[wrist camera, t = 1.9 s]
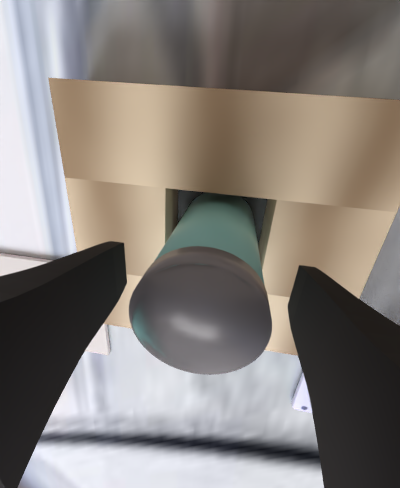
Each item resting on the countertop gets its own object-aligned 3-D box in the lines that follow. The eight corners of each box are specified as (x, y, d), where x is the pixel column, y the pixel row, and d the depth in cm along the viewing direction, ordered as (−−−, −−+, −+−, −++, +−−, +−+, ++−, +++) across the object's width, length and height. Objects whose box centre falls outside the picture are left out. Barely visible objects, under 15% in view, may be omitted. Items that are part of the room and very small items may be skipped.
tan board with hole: (398, 108, 12) (444, 102, 9) (317, 326, 18) (331, 361, 15) (86, 87, 13) (48, 77, 11) (109, 294, 20) (88, 321, 17)
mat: (100, 266, 19) (97, 269, 18) (110, 351, 22) (108, 355, 22) (-9, 251, 19) (-14, 254, 19) (19, 335, 23) (16, 339, 23)
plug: (260, 193, 15) (287, 273, 7) (248, 259, 17) (258, 384, 8) (185, 185, 15) (124, 252, 7) (182, 250, 17) (132, 362, 9)
